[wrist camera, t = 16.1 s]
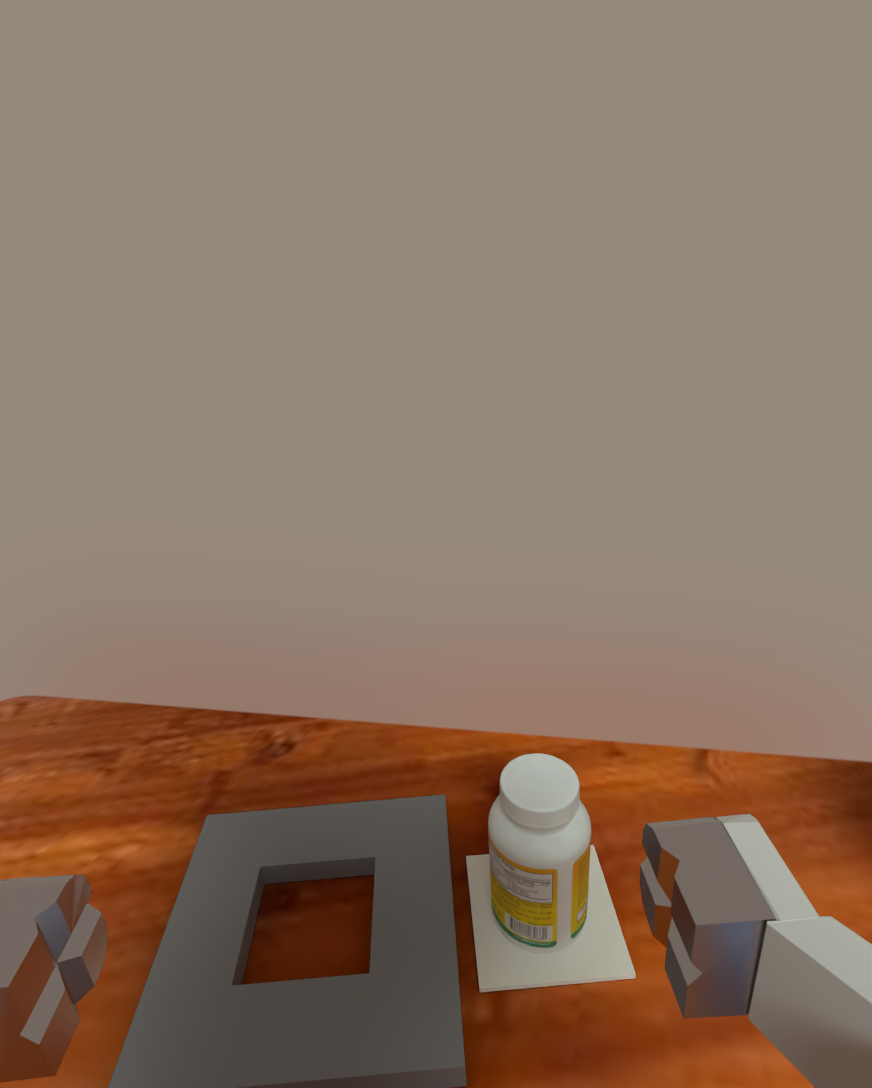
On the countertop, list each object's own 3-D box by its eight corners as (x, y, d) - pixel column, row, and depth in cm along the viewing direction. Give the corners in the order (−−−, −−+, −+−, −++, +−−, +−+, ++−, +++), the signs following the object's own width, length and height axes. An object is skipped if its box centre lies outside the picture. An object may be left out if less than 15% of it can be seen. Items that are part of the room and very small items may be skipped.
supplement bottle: (517, 973, 33) (513, 837, 29) (476, 888, 38) (468, 761, 34) (607, 935, 35) (614, 801, 31) (557, 857, 39) (558, 732, 36)
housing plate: (113, 1118, 29) (103, 1099, 28) (211, 831, 44) (206, 815, 43) (467, 1086, 29) (465, 1066, 28) (446, 810, 44) (445, 794, 43)
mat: (479, 992, 33) (479, 988, 33) (466, 859, 40) (465, 856, 40) (635, 978, 33) (635, 974, 33) (593, 848, 40) (593, 844, 40)
